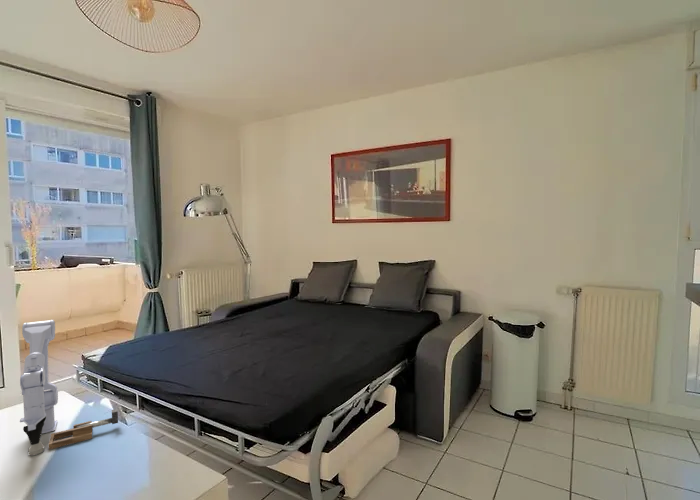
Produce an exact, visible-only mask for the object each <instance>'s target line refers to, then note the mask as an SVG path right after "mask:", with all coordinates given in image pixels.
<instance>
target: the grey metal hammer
mask: <svg viewBox="0 0 700 500" xmlns="http://www.w3.org/2000/svg"><path fill="white" fill-rule="evenodd" d="M118 423H119V409H118V408H114V409H111V417H110V418H107V419H102V420H96V421H92V423H88V424H84V425H80V426H77V428H79V427H83V426H88V425H91V428H92V429H93V428H94V429H95V428H98V427H101V426H105V425H110V424H112V425H115V424H118Z"/></svg>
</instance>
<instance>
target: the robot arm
mask: <svg viewBox="0 0 700 500" xmlns="http://www.w3.org/2000/svg"><path fill="white" fill-rule="evenodd" d="M21 329H22V330H21V334H22V338H23V339H24V341H25V342H26V344H29V354H28V355H27V356H26V357H25V358H24V363H23V372H22V374H20V379H19V386H20V390H21V395H22V400H23V402H22V403H23V417H22V418H20V419H19V423H25V425H24V426H23V428H22V430H23V432H25V434H26V435H27V437H28V438H27V439H28V440H29V443H30V446H31V445H34V444H38V443H39V441H40V440H41V438H42V434H46V433H51V432H56V429H57V424H58V420H56V419H55V406H56V405H57V404H58V402H59V395H58V394H59V391H58V386H57V385H56V384H54V383H52V382H50V381H49V344H50V342H51V341H53V340H55V338H56V322H55V319H50V320H49V319H48V320H40V321H32V322H31V321H30V322H24V323H23V324H22V327H21ZM40 435H41V437H40Z"/></svg>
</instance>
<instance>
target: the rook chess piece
mask: <svg viewBox="0 0 700 500" xmlns="http://www.w3.org/2000/svg"><path fill="white" fill-rule="evenodd" d="M40 437H41V438H42V434H41V435H40ZM44 450H45V445H44V444H43V443H42V441H41V439H40V441H39V443H38V444H34V445H31V444H30V447H29V449H28V453H27V454H28V455H29V456H36V455H39V454H41V453H43V452H44Z"/></svg>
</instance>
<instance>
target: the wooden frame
mask: <svg viewBox="0 0 700 500" xmlns="http://www.w3.org/2000/svg"><path fill="white" fill-rule="evenodd" d="M92 422H93V421H92V420H89V421H85V422H81V423H76V424H73V428H70V429H66V430H65V429H64V430H62V431H55V432H53V433H51V434H50V438H49V441H48V450H53V449H57V448H61V447H65V446H69V445H71V444H72V445H73V444H77V443H81V442H84V441H87V440H91V439H93V428H91V425H88V426H83V427H79V428H77V426H80V425H84V424H88V423H92Z"/></svg>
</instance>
